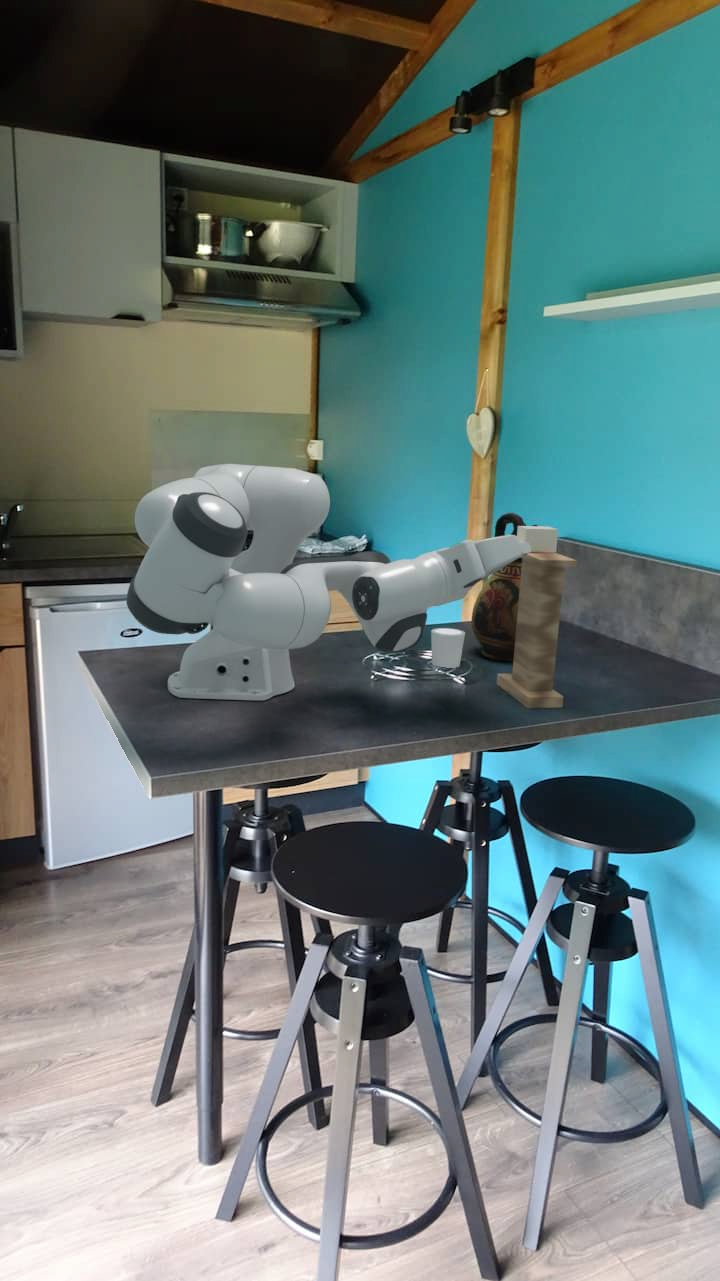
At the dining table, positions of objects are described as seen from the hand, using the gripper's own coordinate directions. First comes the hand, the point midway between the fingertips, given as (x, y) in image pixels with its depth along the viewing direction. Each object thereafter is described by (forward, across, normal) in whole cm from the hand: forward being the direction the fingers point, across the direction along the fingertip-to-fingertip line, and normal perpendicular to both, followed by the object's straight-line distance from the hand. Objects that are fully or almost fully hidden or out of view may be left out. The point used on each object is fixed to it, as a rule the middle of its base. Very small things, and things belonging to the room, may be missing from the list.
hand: (513, 557), depth 158 cm
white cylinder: (0, -34, -12) cm, 36 cm away
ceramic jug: (+16, -38, -14) cm, 44 cm away
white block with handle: (+5, -5, +2) cm, 7 cm away
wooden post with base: (+3, -14, -23) cm, 27 cm away
